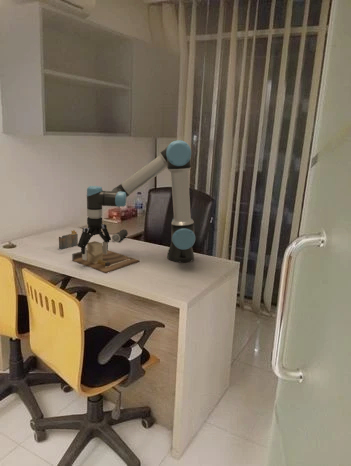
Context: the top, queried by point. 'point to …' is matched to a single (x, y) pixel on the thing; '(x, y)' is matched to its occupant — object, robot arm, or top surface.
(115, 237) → the flashlight
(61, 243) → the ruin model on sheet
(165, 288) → the top surface
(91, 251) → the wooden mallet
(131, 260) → the board
